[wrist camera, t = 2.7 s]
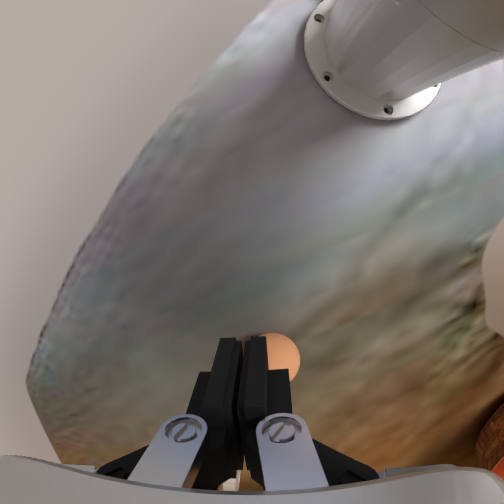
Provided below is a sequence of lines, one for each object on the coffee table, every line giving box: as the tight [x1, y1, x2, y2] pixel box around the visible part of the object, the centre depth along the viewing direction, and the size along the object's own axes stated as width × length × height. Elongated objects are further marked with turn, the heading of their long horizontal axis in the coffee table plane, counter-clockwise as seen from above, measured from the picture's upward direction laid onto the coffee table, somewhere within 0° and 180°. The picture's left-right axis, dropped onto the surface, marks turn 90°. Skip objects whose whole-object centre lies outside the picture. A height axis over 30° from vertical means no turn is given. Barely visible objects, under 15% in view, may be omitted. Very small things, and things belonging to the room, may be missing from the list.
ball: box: [243, 333, 300, 381], centre depth 27 cm, size 5×5×5 cm
